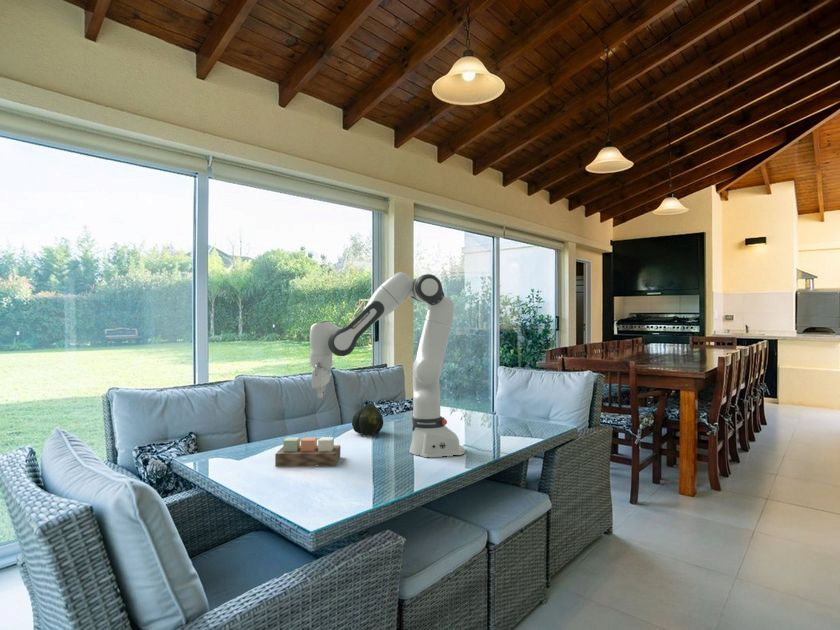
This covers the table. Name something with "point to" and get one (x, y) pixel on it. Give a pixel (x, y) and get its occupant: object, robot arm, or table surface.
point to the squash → (367, 420)
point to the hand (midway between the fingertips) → (321, 396)
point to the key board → (308, 457)
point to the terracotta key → (309, 444)
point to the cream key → (326, 444)
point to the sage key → (291, 444)
